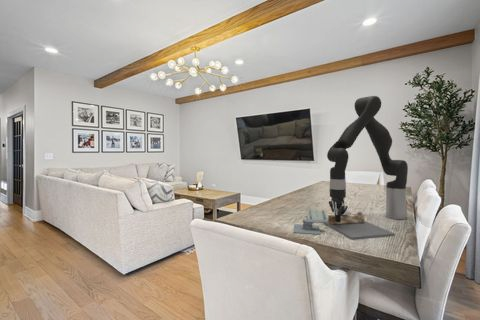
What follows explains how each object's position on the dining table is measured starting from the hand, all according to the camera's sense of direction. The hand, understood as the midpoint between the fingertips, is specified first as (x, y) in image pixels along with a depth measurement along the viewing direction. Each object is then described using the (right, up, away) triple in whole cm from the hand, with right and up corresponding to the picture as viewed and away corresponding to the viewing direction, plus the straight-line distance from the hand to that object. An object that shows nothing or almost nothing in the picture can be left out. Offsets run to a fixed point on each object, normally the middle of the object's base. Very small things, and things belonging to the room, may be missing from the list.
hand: (337, 221), depth 116 cm
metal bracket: (-5, -3, +15) cm, 16 cm away
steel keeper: (+5, -2, +5) cm, 8 cm away
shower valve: (-15, -4, -2) cm, 16 cm away
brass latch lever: (+7, -1, +4) cm, 8 cm away
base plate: (+8, -3, -2) cm, 9 cm away
